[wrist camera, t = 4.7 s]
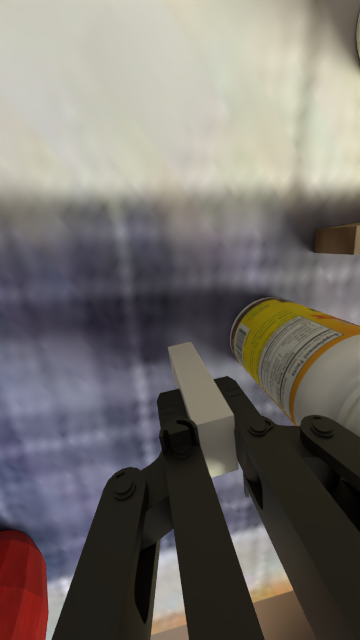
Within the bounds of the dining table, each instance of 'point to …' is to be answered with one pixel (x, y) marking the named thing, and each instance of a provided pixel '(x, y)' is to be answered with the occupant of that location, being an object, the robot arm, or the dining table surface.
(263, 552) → the dining table surface
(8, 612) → the apple
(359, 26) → the supplement bottle
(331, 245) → the pocket
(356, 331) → the supplement bottle
